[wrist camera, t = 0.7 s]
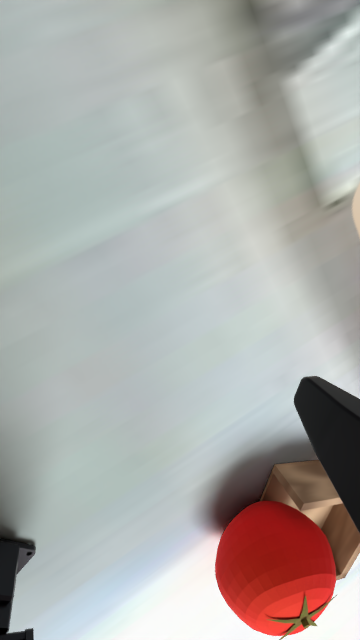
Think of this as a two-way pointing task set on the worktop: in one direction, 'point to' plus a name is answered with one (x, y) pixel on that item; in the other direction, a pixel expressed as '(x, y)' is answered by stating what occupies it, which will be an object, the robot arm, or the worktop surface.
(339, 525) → the tray
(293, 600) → the tomato
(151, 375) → the worktop surface
